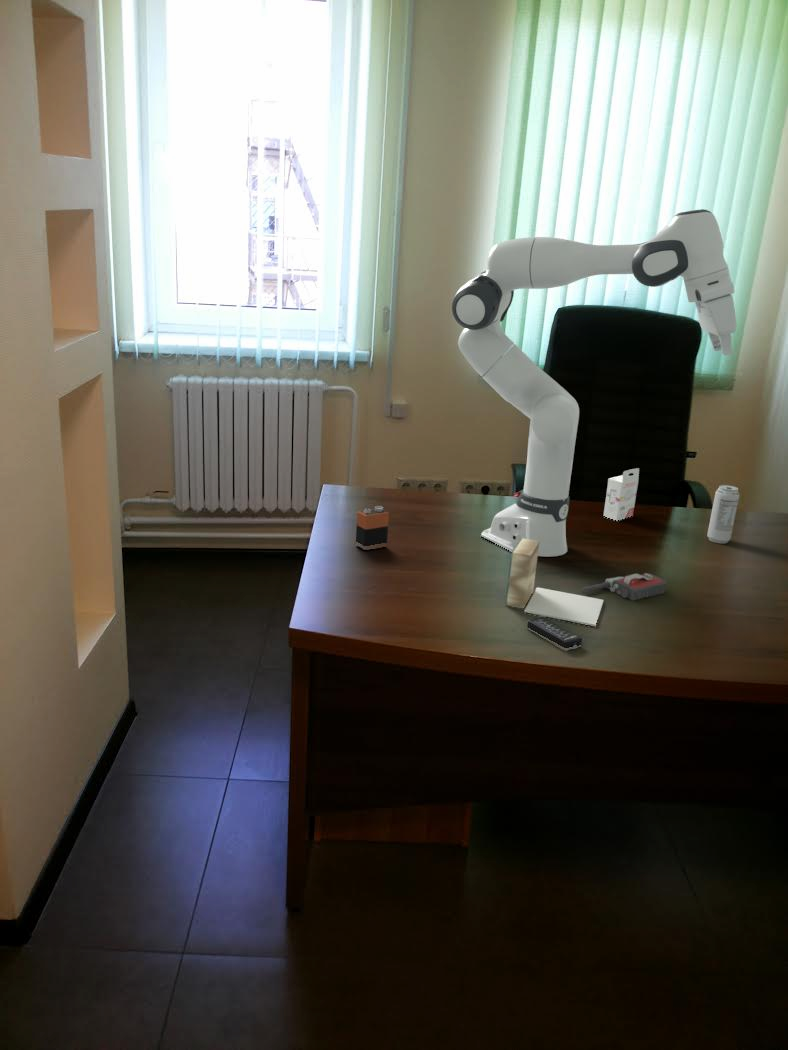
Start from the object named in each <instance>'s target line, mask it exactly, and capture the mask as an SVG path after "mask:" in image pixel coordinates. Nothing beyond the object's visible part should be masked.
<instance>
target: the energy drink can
mask: <svg viewBox="0 0 788 1050" xmlns="http://www.w3.org/2000/svg"><path fill="white" fill-rule="evenodd" d="M739 499H740V492H739V488H738V487H736V486H734V485H729V484H721V485H719V486H718V488H717V489H716V491H715V494H714V498H713V502H712V503H713V504H712V509H711V514H710V520H709V525H708V528H707V533H706V534H707V535H706V537H708V540H709V541H710V542H712V543H716V544H728V543H729V542H730V541H731V538H732V533H733V528H734V524H735V521H736V520H735V519H736V513H737V508H738V504H739Z"/></svg>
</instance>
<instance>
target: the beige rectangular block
mask: <svg viewBox="0 0 788 1050" xmlns="http://www.w3.org/2000/svg"><path fill="white" fill-rule="evenodd" d="M539 542H540V541H535V540H529V539H524V538H521V539H520V541H519V542H518V543H517V545H516V546H515V548H514V549H513V551H512V552H511V553H510V563H509V570H508V578H507V587H506V594H505V595H506V596H505V602H504V603H505V604H508V605H513V606H517V607H522V608H524V607H525V608H526V606H527V605H526V603H527V602H528V603H529V601H530V599H531V597H532V595H533V594H534V588H535V581H536V580H535V579H536V571H537V563H538V557H539V556H538V549H539ZM531 594H532V595H531ZM530 596H531V597H530ZM529 598H530V599H529ZM528 600H529V601H528ZM528 603H527V604H528ZM505 604H504V605H505ZM525 605H526V606H525ZM525 608H524V609H525Z"/></svg>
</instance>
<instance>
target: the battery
mask: <svg viewBox="0 0 788 1050" xmlns="http://www.w3.org/2000/svg"><path fill="white" fill-rule="evenodd" d="M356 513H357V514H356V531H355V543H356V542H358V543H360V544H362V545H363V546H370V545H375V544H381V543H387V544H388V537H389V536H388V535H389V534H388V533H389V521H390V518H389V517H390V513H389V512H388V511H386V510H384V507H383V506H382V505H376V506H374V508H372V509H370V508H364V510H359V511H357V512H356Z"/></svg>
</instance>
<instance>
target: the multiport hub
mask: <svg viewBox="0 0 788 1050" xmlns="http://www.w3.org/2000/svg"><path fill="white" fill-rule="evenodd" d="M527 627H528V628H530V629H531V630H533V631H535V632H537V633H538V634H540V635H542V636H544V637H546V638H548V639H549V640H551V641H553V642H555V643H557V644H558V645H560V646H562V647H564V648H569V647H573V646H574V645H577V646H579V645H581V646H582V642H583V637H582V636H580V635H578V634H576V633H575V632H573V631H571V630H569V629H567V628H566V627H564V626H563V625H561V624H559V623H557V622H555V621H554V620H553V619H550V618H546V617H544V616H542V617H541V616H537V617H535V618H530V619H528V620H527V626H526V628H527Z"/></svg>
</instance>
